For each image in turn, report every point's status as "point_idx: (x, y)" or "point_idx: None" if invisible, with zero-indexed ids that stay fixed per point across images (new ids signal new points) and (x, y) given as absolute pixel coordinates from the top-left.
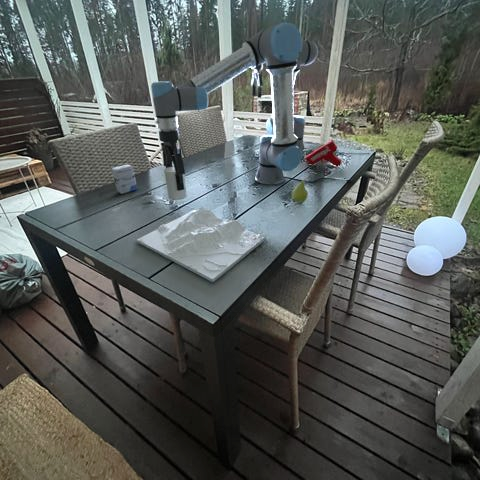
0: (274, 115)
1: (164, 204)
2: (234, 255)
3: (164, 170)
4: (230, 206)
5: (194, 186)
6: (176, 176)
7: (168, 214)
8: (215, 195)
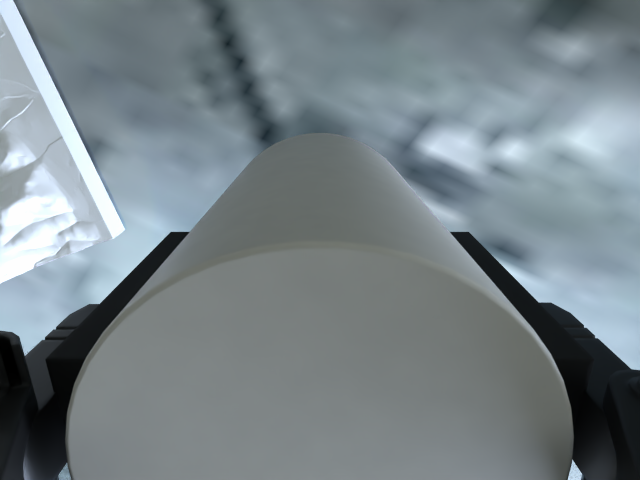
0: None
1: (439, 109)
2: None
3: (381, 250)
4: None
5: None
6: (59, 349)
7: (224, 51)
8: None
